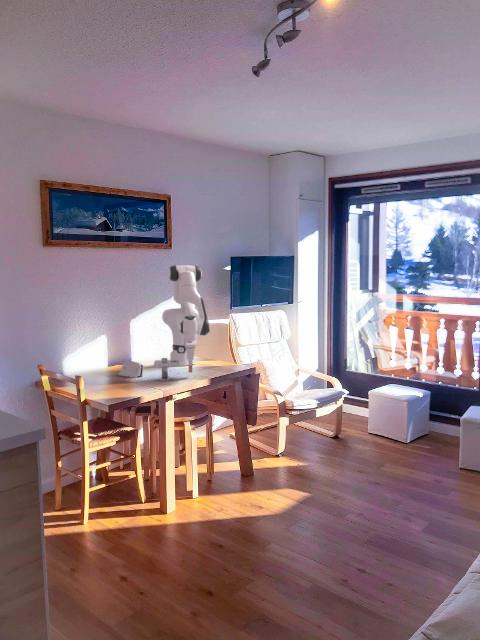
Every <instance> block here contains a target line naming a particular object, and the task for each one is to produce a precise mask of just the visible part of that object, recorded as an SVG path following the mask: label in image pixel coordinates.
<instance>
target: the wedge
mask: <svg viewBox="0 0 480 640" xmlns="http://www.w3.org/2000/svg"><path fill="white" fill-rule="evenodd" d="M188 373H193V364H192V365H191V366H190V365H188Z"/></svg>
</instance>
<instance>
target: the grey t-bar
mask: <svg viewBox="0 0 480 640" xmlns="http://www.w3.org/2000/svg"><path fill="white" fill-rule="evenodd" d="M153 367H154V368H159V367H161V376H160V377H159V382H161V381H163V382H164V381H166V382H168V381H170V380H171V376H169V371H168V368H169V367H181V366H180V360H170V359H168V357H162V358H160V359H159V360H154V363H153Z"/></svg>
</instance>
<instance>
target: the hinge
mask: <svg viewBox="0 0 480 640" xmlns="http://www.w3.org/2000/svg"><path fill="white" fill-rule="evenodd" d="M144 369H145V366H144V365H143V364H142V363H139V362H137V361H133V360H132V361H129V360H128V361H124V362H123V363H122V366H121V369H120V371H119V373H118V376H123V377H128V376H129V377H128V378H135V379H137V378H138V377H142V378H143V375H144Z"/></svg>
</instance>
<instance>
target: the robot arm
mask: <svg viewBox="0 0 480 640" xmlns="http://www.w3.org/2000/svg"><path fill="white" fill-rule="evenodd" d="M167 272H168V273H167V275H168V278H169V280H170V281H172V282H174V285H173V286H174V287H173V300H174V302H175V303H177V304H178V305H180V308H169V309H165V310H164V311H163V313H162V315H161V317H162V319H161V320H162V321H163V323H164V324H166V325H167V326H168V327H169V329H170V331H171V334H172V347H171V348H172V350H171V352H170V354H169V356H170V359H169V360H180V366H179V367H185V366H189V365H190V366H191V365H192V366H193V365H196V362H195V361H194V359H195V350H196V347H197V346H198V336H206V335H208V334H209V333H210V330H211V326H210V325H211V324H210V323H209V318H208V313H207V311H206V306H205V302H204V299H203V298H204V297H203V296H202V294H200V293H199V292H198V289H197V282H199V281H200V280H201V279H202V278H203V277H202V276H203V272H202V269H201V267H200V266H197V265H189V264H187V265H186V264H184V265H183V264H181V265H176V264H174V265H171V266H169V268H168V271H167ZM192 304H193V305H194V306H196V307H197V309H196V308H195V307H194V306H193V305H192ZM199 317H200V319H199Z"/></svg>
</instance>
